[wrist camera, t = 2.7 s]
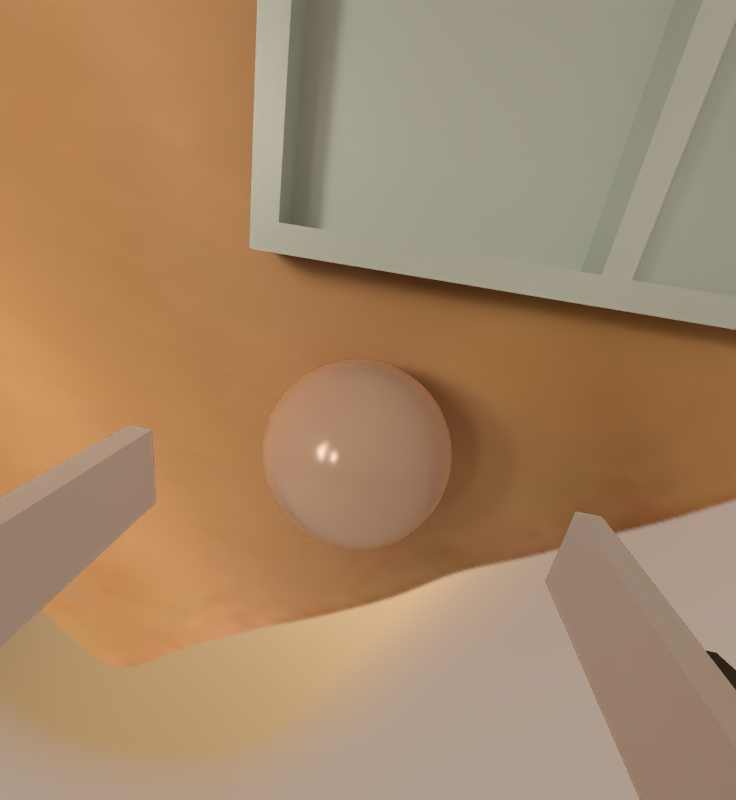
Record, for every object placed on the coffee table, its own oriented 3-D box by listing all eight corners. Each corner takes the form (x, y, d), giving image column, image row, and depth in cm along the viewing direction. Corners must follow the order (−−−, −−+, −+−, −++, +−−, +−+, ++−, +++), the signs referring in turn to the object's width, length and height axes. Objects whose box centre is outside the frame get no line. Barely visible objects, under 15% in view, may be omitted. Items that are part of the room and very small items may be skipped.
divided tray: (296, -245, 10) (269, -370, 8) (1252, -135, 9) (1488, -245, 7) (270, 250, 15) (249, 248, 13) (903, 355, 14) (987, 372, 12)
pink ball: (300, 329, 16) (228, 375, 10) (458, 356, 16) (495, 424, 9) (288, 465, 19) (225, 575, 12) (425, 490, 18) (435, 617, 12)
